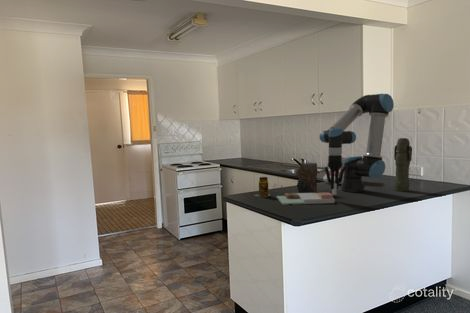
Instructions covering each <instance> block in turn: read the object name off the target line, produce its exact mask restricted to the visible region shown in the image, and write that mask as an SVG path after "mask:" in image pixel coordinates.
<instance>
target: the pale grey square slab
mask: <svg viewBox="0 0 470 313" xmlns="http://www.w3.org/2000/svg"><path fill="white" fill-rule="evenodd" d="M296 193H297V194H298V195H299V199H300V200H301V201H303V202H304V204H303V205H310V204H311V205H312V204H313V205H315V204H335V202H336V200H335V198H334V197H333V198H329V199H321V198H320V197H318V193H319V192H316V193H299V192H296ZM321 193H325V192H324V191H323V192H322V191H321Z"/></svg>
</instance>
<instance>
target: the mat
mask: <svg viewBox="0 0 470 313" xmlns="http://www.w3.org/2000/svg"><path fill="white" fill-rule="evenodd" d="M276 199H277V200H278V201H279V202H280V203H281V204H282V205H283V206H288V205H289V204H292V205H305V204H304V202H303V201H301V200H300V199H299V198H297V199H287V198H286V197H285V195H276Z"/></svg>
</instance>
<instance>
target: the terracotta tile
mask: <svg viewBox="0 0 470 313" xmlns="http://www.w3.org/2000/svg"><path fill="white" fill-rule="evenodd" d="M317 193H318V197H320V198H321V199H329V198H334V195H333V194H332V193H330V192H324V193H322V192H317Z"/></svg>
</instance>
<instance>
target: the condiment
mask: <svg viewBox="0 0 470 313" xmlns="http://www.w3.org/2000/svg"><path fill="white" fill-rule="evenodd" d="M269 196H271V194H269V181H268V177H267V176H260V177H259V181H258V193H257V194H255V195H254V197H261V198H267V197H269Z"/></svg>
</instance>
